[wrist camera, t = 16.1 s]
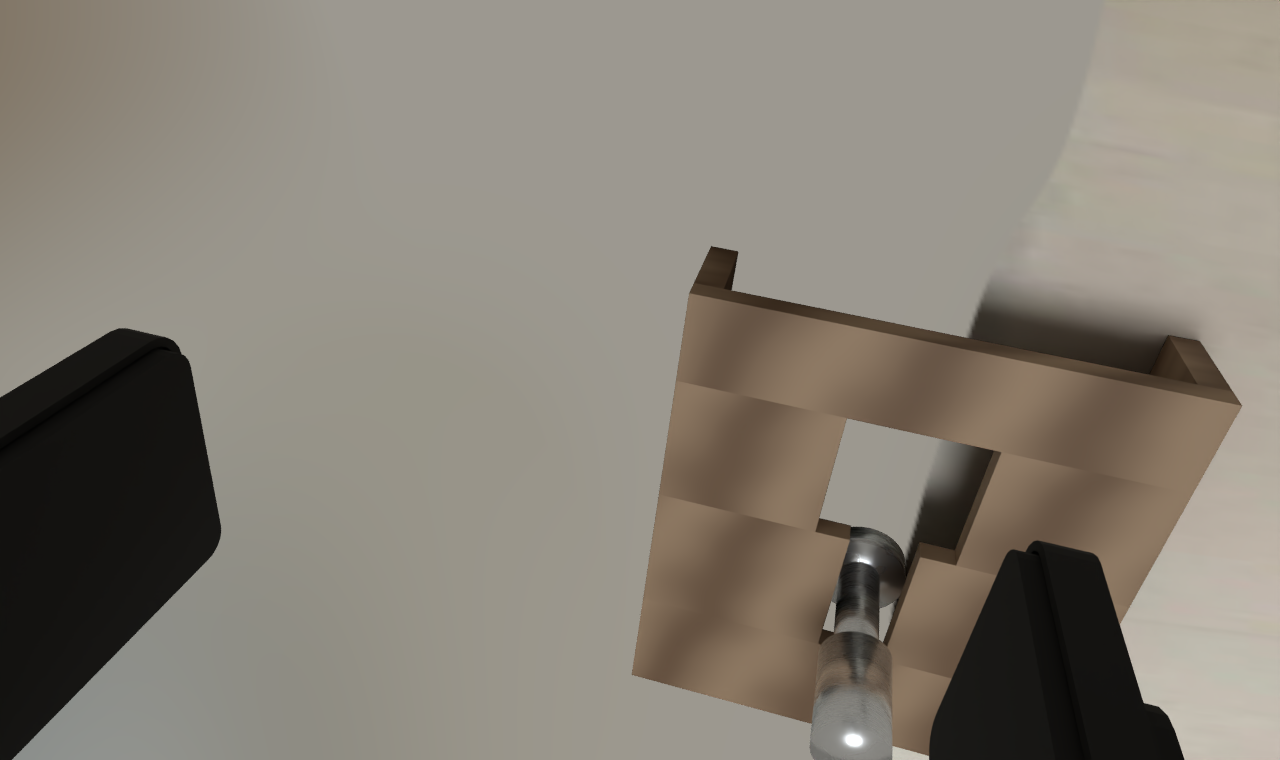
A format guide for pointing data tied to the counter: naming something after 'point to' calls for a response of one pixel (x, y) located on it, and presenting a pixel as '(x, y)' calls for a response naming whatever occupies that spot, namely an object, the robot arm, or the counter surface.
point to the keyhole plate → (914, 402)
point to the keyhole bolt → (858, 655)
